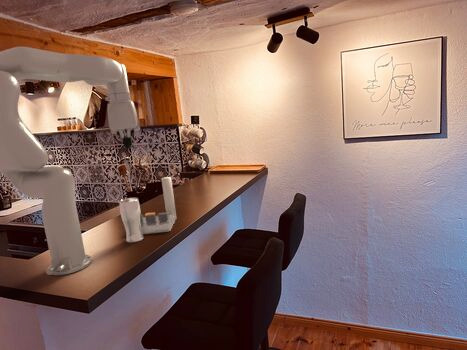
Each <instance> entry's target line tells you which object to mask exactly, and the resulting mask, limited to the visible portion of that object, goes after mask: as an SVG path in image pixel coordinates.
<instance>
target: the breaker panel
mask: <svg viewBox="0 0 467 350" xmlns="http://www.w3.org/2000/svg"><path fill="white" fill-rule="evenodd" d="M168 217H169V219H168V220H161V221H159V219H158V215H156V221H151V222H146V218H145V217H143V218H144V221H143V222H141V232H142V235H148V234H158V233H159V234H160V233H168V232H169V231H170V232H171V230H172V229H173V226H174V225H173V224H175V223H176V219H175V217H174V215H168ZM170 232H169V233H170Z"/></svg>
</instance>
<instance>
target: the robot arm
mask: <svg viewBox="0 0 467 350" xmlns="http://www.w3.org/2000/svg"><path fill="white" fill-rule="evenodd" d="M23 80H37V81H46V82H47V81H48V82H55V83H56V82H57V83H76V82H83V81H84V83H86V84H87V85H89V86H92V87H93V86H94V87H95V86H96V87H98V86H103V85H106V89H107V94H108V95H107V96H106V97H104V100H105V101H106V102H107V101H108V102H109V103H107V118H108V120H107V121H108V126H109V130H110V134H112V135H118V136H119V137H120V138H121V139H122V142H123V147H125V149H126V150H127V149H131V148H133V147H132V146H134V145H133V139H132V137H133V135H134V134H135V133H136V132H139V131H141V127H140V121H139V117H138V114H137V109H136V106H135V103H134V101H132V99H131V93H130V89H129V82H128V75H127V70H126V66H125V64H123V63H119V62H117V61H116V60H114V59H113V58H110V57H104V56H99V55H91V54H90V55H89V54H75V53H61V52H55V51H49V50H45V49H39V48H36V47H35V48H33V47H29V46H16V47H11V48H8V49H5V50H1V51H0V173H1V175H2V176H4V178H6V179H7V181H8V182H10V184H12V185H13V186H14V187H15V189H16V190H18V192H20V193H21V194H23V195H24V196H26V197H28V198H33V199H34V198H35V199H42V206H41V218H42V223H43V228H44V232H45V237H46V241H47V247H48V251H49V256H50V265H48V266H47V268H46V269H45V273H46V275H48V276H51V275H52V276H63V275H68V274H72V273H73V274H74V273H75V272H79V271H81V270H83V269H85V268H87V267H88V266H90V265H91V263H92V262H93V261H92V260H93V259H92V257H91V255H89V254H86V251H85V246H84V241H83V236H82V235H83V234H82V230H81V226H80V225H81V224H80V220H79V215H78V209H77V203H76V181H75V177H74V175H73V173H72V172H71V171H70V170H68V169H67V168H65V167H61V166H55V165H54V166H47V164H48V162H49V154H48V152H47V149H46V148H45V147H44V146H43V145H42V143H41V142H40V141H39V139H37V137H36V136H35V135H34V134H33V133H32V131H31V130H30V128H28V126H26V124H25V122H24V121H23V120H22V118H21V117H20V113H19V108H18V107H19V100H20V97H21V86H20V83H19V81H23ZM125 130H126V131H125Z"/></svg>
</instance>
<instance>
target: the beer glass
mask: <svg viewBox="0 0 467 350" xmlns="http://www.w3.org/2000/svg"><path fill="white" fill-rule="evenodd" d="M141 211H142V210H141V206H140V202H139V198H138V197H128V198H124V199H121V200H119V213H120V216H121V221H122V223H123V225H124V226H123V227H124V229H125V232H126V233H125V234H126V240H125V241H126V242H127V243H137V242H139V241H142V240H143V239H144V234H142V232H141V215H142V213H141Z"/></svg>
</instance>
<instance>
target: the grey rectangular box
mask: <svg viewBox="0 0 467 350" xmlns="http://www.w3.org/2000/svg"><path fill="white" fill-rule="evenodd" d="M157 216H158V219H159V221H161V220H168V219H169V217H168V212H166V211H165V212H159V213H157Z"/></svg>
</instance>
